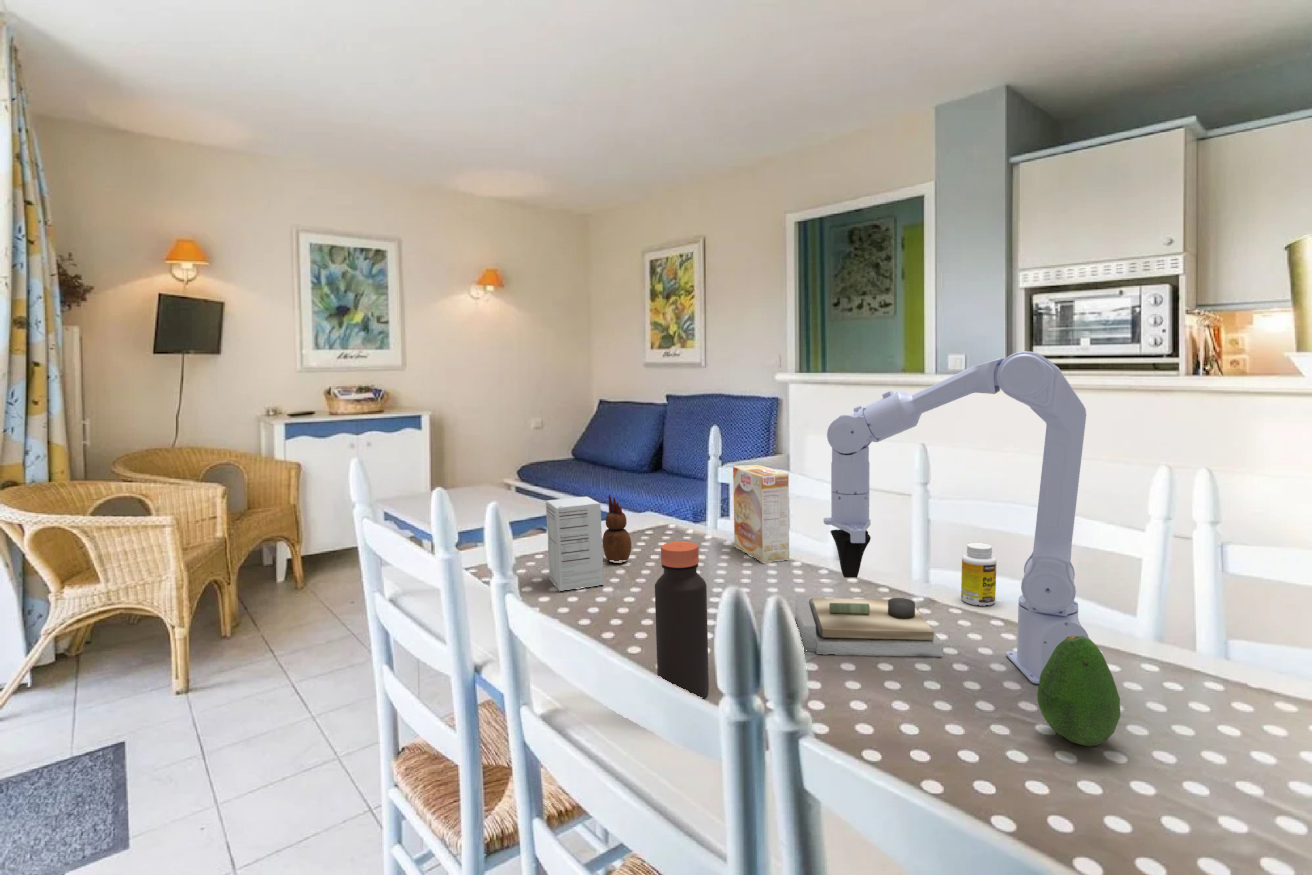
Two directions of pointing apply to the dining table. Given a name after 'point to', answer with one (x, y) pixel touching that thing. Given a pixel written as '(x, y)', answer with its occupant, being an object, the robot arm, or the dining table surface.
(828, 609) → the plate
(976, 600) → the supplement bottle
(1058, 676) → the avocado
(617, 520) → the wooden figurine
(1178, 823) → the dining table surface
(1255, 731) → the dining table surface
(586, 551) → the supplement box
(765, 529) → the coffeecake box
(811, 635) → the level base
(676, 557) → the vinegar
